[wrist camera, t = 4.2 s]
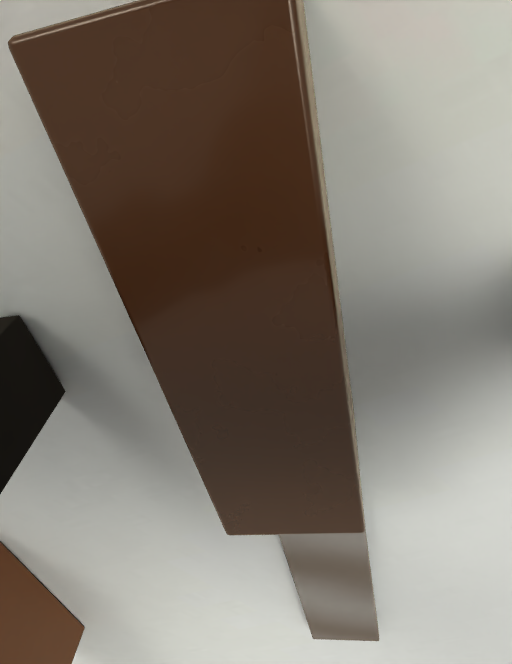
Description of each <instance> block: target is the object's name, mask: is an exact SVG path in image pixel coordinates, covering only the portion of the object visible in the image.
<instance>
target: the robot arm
mask: <svg viewBox="0 0 512 664" xmlns="http://www.w3.org/2000/svg"><path fill="white" fill-rule="evenodd" d="M65 392H66V391H65V390H64V388H63V387H62V385H61V383H60V382H59V380H58V378H57V377H56V375H55V373H54V372H53V370H52V368H51V367H50V365H49V364H48V362H47V360H46V359H45V357H44V355H43V354H42V352H41V350H40V349H39V347H38V346H37V344H36V342H35V341H34V339H33V337H32V336H31V334H30V332H29V331H28V329H27V328H26V326H25V324H24V323H23V321H22V319H21V318H20V316H19V315H17V316H9V317H2V318H0V494H1V492H2V491H3V489H4V487H5V486H6V484H7V483H8V481H9V480H10V478H11V476H12V475H13V473H14V472H15V470H16V469H17V467H18V465H19V464H20V462H21V461H22V459H23V458H24V456H25V454H26V453H27V451H28V450H29V448H30V447H31V445H32V443H33V442H34V440H35V439H36V437H37V436H38V434H39V432H40V431H41V429H42V428H43V426H44V425H45V423H46V421H47V420H48V418H49V417H50V415H51V414H52V412H53V410H54V409H55V407H56V406H57V404H58V403H59V401H60V399H61V398H62V396H63V395H64V393H65Z"/></svg>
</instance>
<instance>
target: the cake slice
mask: <svg viewBox="0 0 512 664" xmlns="http://www.w3.org/2000/svg"><path fill="white" fill-rule="evenodd" d="M83 631H84V626H83V625H82V624H81V623H80V622H79V621H78V620H77V619H76V618H75V617H74V616H73V615H72V614H71V613H70V612H69V611H68V610H67V609H66V608H65V607H64V606H63V605H62V604H61V603H60V602H59V601H58V600H57V599H56V598H55V597H54V596H53V595H52V594H51V593H50V592H49V591H48V590H47V589H46V588H45V587H44V586H43V585H42V584H41V583H40V582H39V581H38V580H37V579H36V578H35V577H34V576H33V575H32V574H31V573H30V572H29V571H28V570H27V569H26V568H25V567H24V566H23V565H22V564H21V563H20V561H19V560H18V559H17V558H16V557H15V556H14V555H13V554H12V553H11V552H10V551H9V550H8V549H7V548H6V547H5V546H4V545H3V544H2V543H1V542H0V664H72V661H73V658H74V655H75V653H76V650H77V647H78V644H79V642H80V639H81V636H82V633H83Z"/></svg>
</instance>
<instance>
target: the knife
mask: <svg viewBox="0 0 512 664" xmlns="http://www.w3.org/2000/svg"><path fill="white" fill-rule="evenodd" d="M8 45H9V49H10V52H11V54H12V56H13V58H14V60H15V63H16V65H17V67H18V69H19V72H20V74H21V76H22V78H23V81H24V83H25V85H26V87H27V89H28V92H29V94H30V96H31V98H32V101H33V103H34V105H35V107H36V110H37V112H38V114H39V116H40V118H41V121H42V123H43V125H44V127H45V130H46V132H47V134H48V136H49V139H50V141H51V143H52V145H53V147H54V150H55V152H56V154H57V156H58V159H59V161H60V163H61V165H62V168H63V170H64V172H65V174H66V177H67V179H68V181H69V183H70V185H71V188H72V190H73V192H74V194H75V197H76V199H77V201H78V203H79V206H80V208H81V210H82V212H83V214H84V217H85V219H86V221H87V223H88V226H89V228H90V230H91V232H92V235H93V237H94V239H95V241H96V243H97V246H98V248H99V250H100V252H101V255H102V257H103V259H104V261H105V264H106V266H107V268H108V270H109V272H110V275H111V277H112V279H113V281H114V284H115V286H116V288H117V290H118V293H119V295H120V297H121V299H122V302H123V304H124V306H125V308H126V310H127V313H128V315H129V317H130V319H131V322H132V324H133V326H134V328H135V331H136V333H137V335H138V337H139V339H140V342H141V344H142V346H143V348H144V351H145V353H146V355H147V357H148V360H149V362H150V364H151V366H152V368H153V371H154V373H155V375H156V377H157V380H158V382H159V384H160V386H161V389H162V391H163V393H164V395H165V397H166V400H167V402H168V404H169V406H170V409H171V411H172V413H173V415H174V418H175V420H176V422H177V424H178V426H179V429H180V431H181V433H182V435H183V438H184V440H185V442H186V444H187V447H188V449H189V451H190V453H191V456H192V458H193V460H194V462H195V464H196V467H197V469H198V471H199V473H200V476H201V478H202V480H203V482H204V485H205V487H206V489H207V491H208V493H209V496H210V498H211V500H212V502H213V505H214V507H215V509H216V511H217V514H218V516H219V518H220V520H221V522H222V525H223V527H224V529H225V531H226V534H228V535H275V534H279V537H280V540H281V543H282V546H283V549H284V552H285V555H286V558H287V561H288V564H289V568H290V571H291V574H292V577H293V580H294V583H295V586H296V589H297V592H298V595H299V598H300V601H301V604H302V607H303V610H304V613H305V616H306V619H307V622H308V625H309V628H310V631H311V634H312V637H313V639H329V640H362V641H379V632H378V623H377V615H376V608H375V600H374V592H373V585H372V577H371V569H370V561H369V554H368V546H367V538H366V530H365V520H364V510H363V500H362V489H361V479H360V469H359V459H358V449H357V439H356V428H355V418H354V409H353V401H352V393H351V385H350V377H349V369H348V360H347V352H346V344H345V336H344V328H343V320H342V311H341V303H340V295H339V287H338V279H337V271H336V263H335V254H334V246H333V238H332V230H331V222H330V214H329V206H328V197H327V189H326V181H325V173H324V165H323V157H322V148H321V140H320V132H319V124H318V116H317V108H316V100H315V91H314V83H313V75H312V67H311V59H310V51H309V43H308V34H307V26H306V18H305V10H304V2H303V0H139V1H135V2H132V3H128V4H124V5H121V6H117V7H114V8H110V9H107V10H103V11H100V12H96V13H93V14H89V15H86V16H82V17H78V18H75V19H71V20H68V21H64V22H61V23H57V24H54V25H50V26H47V27H43V28H40V29H36V30H33V31H29V32H25V33H22V34H18V35H15V36H13V37H12V38H11V39H10V40H9V41H8Z"/></svg>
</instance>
